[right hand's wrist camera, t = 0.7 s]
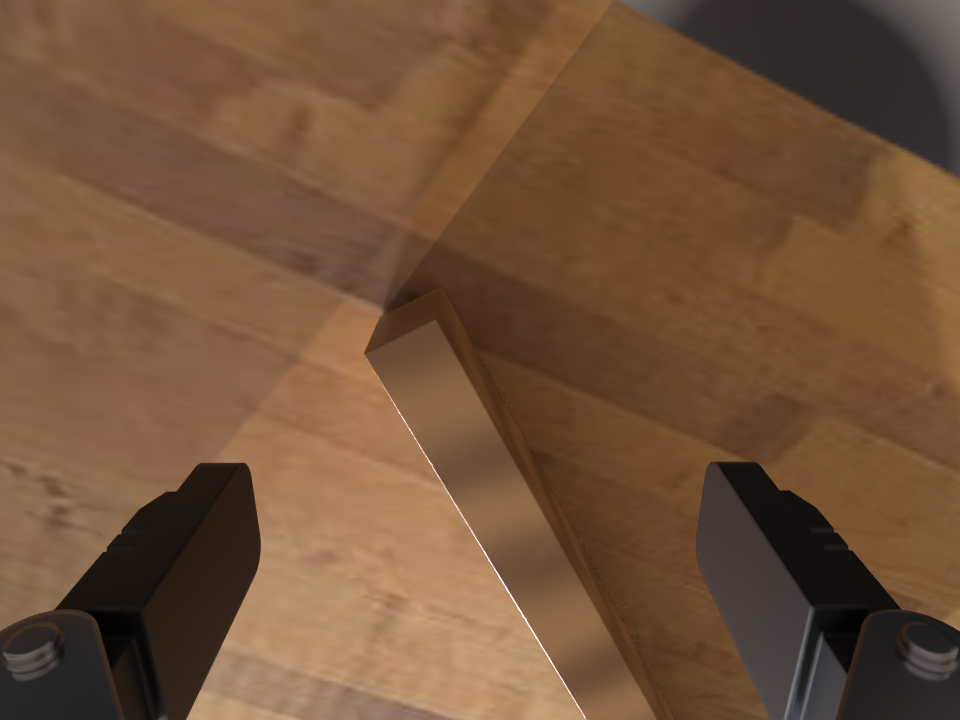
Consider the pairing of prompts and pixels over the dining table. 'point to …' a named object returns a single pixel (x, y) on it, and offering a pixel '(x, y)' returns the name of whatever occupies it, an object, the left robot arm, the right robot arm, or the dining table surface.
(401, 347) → the beam
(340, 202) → the dining table surface
